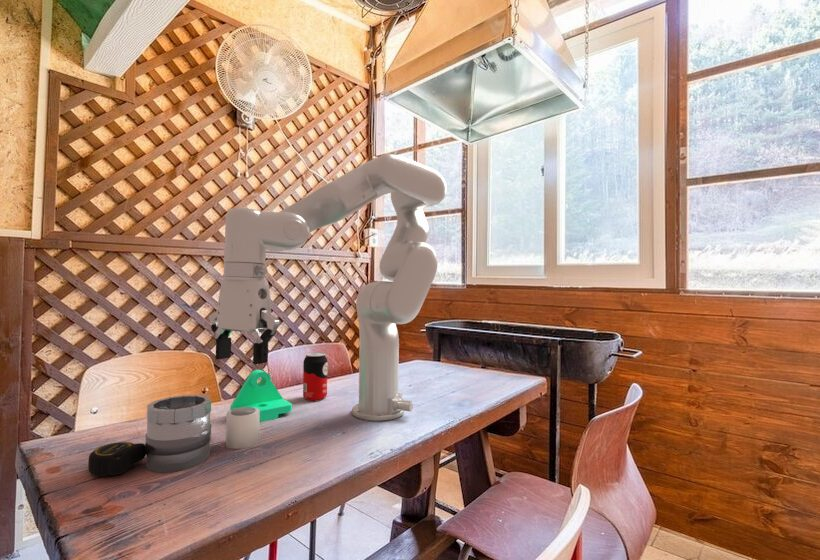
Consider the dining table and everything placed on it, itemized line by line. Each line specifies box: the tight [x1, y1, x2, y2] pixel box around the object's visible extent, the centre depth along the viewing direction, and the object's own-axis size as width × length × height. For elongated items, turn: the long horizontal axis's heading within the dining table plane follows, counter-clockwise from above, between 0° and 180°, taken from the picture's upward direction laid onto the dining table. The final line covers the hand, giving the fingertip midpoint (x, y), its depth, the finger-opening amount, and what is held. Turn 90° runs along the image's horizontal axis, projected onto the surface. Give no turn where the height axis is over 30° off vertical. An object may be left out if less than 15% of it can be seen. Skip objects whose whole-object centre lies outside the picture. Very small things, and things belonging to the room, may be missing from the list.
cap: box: [225, 407, 261, 450], centre depth 79 cm, size 6×6×6 cm
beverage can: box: [302, 351, 328, 402], centre depth 109 cm, size 6×6×12 cm
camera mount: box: [229, 369, 293, 423], centre depth 95 cm, size 12×8×10 cm, turn 130°
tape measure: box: [87, 441, 147, 477], centre depth 67 cm, size 7×7×4 cm
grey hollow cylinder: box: [144, 394, 212, 473], centre depth 71 cm, size 10×10×10 cm
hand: (241, 360), depth 79 cm, fingers open, 9 cm apart
